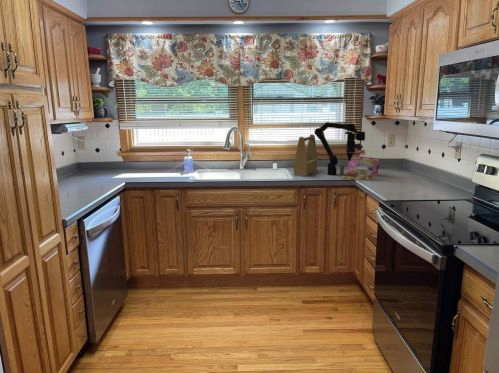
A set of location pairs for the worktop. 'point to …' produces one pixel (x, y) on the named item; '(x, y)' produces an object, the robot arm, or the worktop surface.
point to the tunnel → (362, 171)
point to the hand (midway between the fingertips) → (349, 160)
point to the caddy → (305, 157)
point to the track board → (361, 177)
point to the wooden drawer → (348, 172)
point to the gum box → (364, 164)
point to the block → (352, 171)
